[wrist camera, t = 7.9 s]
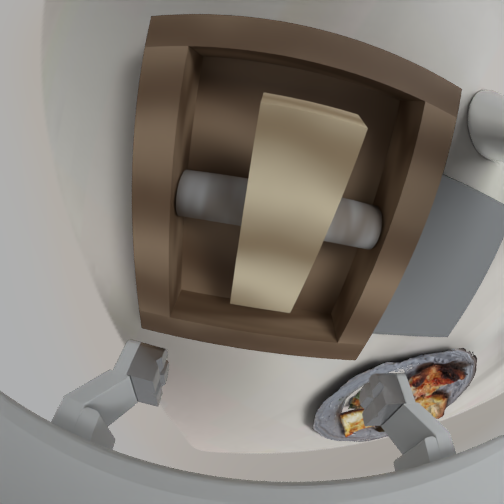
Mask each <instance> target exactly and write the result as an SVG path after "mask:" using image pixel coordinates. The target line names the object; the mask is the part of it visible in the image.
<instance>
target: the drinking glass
mask: <svg viewBox="0 0 504 504" xmlns="http://www.w3.org/2000/svg"><path fill="white" fill-rule="evenodd" d="M468 128H469V133H470V137H471V140H472V142H473V144H474V146H475V148H476V149H477V151H478V152H479V153H480V154H481V155H482V156H483V157H485V158H486V159H489V160H492V161H498V162H504V95H503V94H501V93H498V92H495V91H492V90H482V91H479V92H478V93H476V94H475V96H474V97H473V98H472V100H471V103H470V106H469V110H468Z"/></svg>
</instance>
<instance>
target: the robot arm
mask: <svg viewBox="0 0 504 504" xmlns="http://www.w3.org/2000/svg"><path fill="white" fill-rule="evenodd" d="M167 356H168V351H167V349H164V348H160V347H156V346H153V345H149V344H146V343H142V342H138V341H135V340H131V339H130V340H128V341H127V343H126V345H125V347H124V349H123V351H122V353H121V355H120V357H119V359H118V361H117V363H116V365H115V367H114V369H113V371H112V370H108V371H106V372H105V373H103V374H101V375H100V376H98V377H96V378H94V379H93V380H91V381H89V382H88V383H86V384H84V385H82V386H81V387H79V388H77V389H75V390H74V391H72V392H70V393H69V394H67V395H65V396H64V398H63V400H62V401H61V403H60V405H59V407H58V409H57V411H56V413H55V415H54V417H53V419H52V421H51V422H49V421H47V420H46V419H44V418H42V417H40V416H38V415H37V414H35V413H33V412H32V411H30V410H28V409H27V408H25V407H23V406H22V405H20V404H19V403H17V402H16V401H14V400H13V399H11V398H10V397H8V396H7V395H5V394H4V393H3V392H1V391H0V504H504V435H501V436H498V437H496V438H494V439H492V440H489V441H487V442H485V443H483V444H480V445H478V446H476V447H473V448H471V449H468V450H466V451H463V452H460V453H458V454H456V452H455V448H454V445H453V442H452V439H451V435H450V432H449V431H448V430H447V429H446V428H445V427H444V426H443V425H442V424H441V423H440V422H439V421H438V420H436V419H435V418H434V417H433V416H432V415H431V414H430V413H429V412H428V411H427V410H426V409H425V408H424V407H423V406H422V405H420V404H419V403H418V402H417V403H416V402H415V399H414V396H413V393H412V390H411V388H410V385H409V382H408V379H407V377H406V375H405V374H404V373H374V374H372V375H371V376H370V378H369V382H368V383H367V384H365V385H364V386H363V387H362V389H361V391H360V395H359V401H360V405H361V406H362V407H363V408H364V411H363V413H362V416H363V421H364V426H381V425H382V426H381V427H382V428H383V430H384V431H385V432H386V434H387V435H388V436H389V437H390V439H391V440H392V441H393V443H394V444H395V445H396V446H397V448H398V449H399V450H400V452H401V453H402V454H403V455H402V456H400V457H399V458H397V459H396V460H395V461H394V467H395V471H394V472H390V473H384V474H379V475H373V476H367V477H360V478H352V479H343V480H331V481H316V482H269V481H252V480H241V479H232V478H224V477H216V476H210V475H204V474H199V473H193V472H188V471H183V470H179V469H174V468H170V467H166V466H162V465H158V464H155V463H151V462H147V461H144V460H141V459H137V458H134V457H131V456H128V455H125V454H122V453H119V452H117V451H114V450H112V449H113V446H114V443H115V438H114V436H113V435H112V433H111V432H110V430H109V429H108V426H109V425H110V424H112V423H113V422H114V421H115V420H117V419H118V418H119V417H120V416H122V415H123V414H124V413H125V412H127V411H128V410H129V409H130V408H132V407H133V406H134V405H135V404H136V403H137V401H138V402H142V403H146V404H150V405H154V406H159V403H160V399H161V396H162V386H163V385H165V384H166V380H167V376H168V371H169V362H168V361H167V360H166V359H167Z"/></svg>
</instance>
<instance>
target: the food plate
mask: <svg viewBox="0 0 504 504" xmlns="http://www.w3.org/2000/svg"><path fill="white" fill-rule="evenodd" d="M452 350H453V351H445V352H439V353H433V354H427V355H423V354H421V355H419V356H417V357H415V358H410V359H408V360H404V361H403V362H400V363H397V362H396V363H395V364H394V363H393V362H386V363H383V364H381V365H379V366H376V367H375V368H372V369H369V370H368V371H365V372H364V373H360V374H359V375H356V376H355V377H353V378H352V379H350V380H349V381H348V382H347V383H346V384H344V385H343V386H342V387H340V389H339V391H338V392H335V393H334V394H333V395H332V396H330V397H329V398H327V400H325V401H324V402H323V404H322V405H321V406H320V408H319V409H318V410H317V413H316V415H315V417H314V424H313V429H314V430H315V431H317V432H318V433H319V434H320V435H321V436H323V437H325V438H328V439H331V440H337V441H354V442H361V441H358V440H364V441H369V440H367V439H370V440H375V439H379V438H383V437H386V436H388V435H387V434H386V432H385V431H384V430H383V428H382V427H381V426H382V425H381V426H364V421H363V416H362V413H363V411H364V408H363V407H362V406H361V405H360V401H359V395H360V391H361V390H360V391H359V393H358V394H357V395H356V396H353V397H352V398H351V399H350V403H349V404H350V407H349V408H348V409H350V408H352V409H354V410H350V411H348V412H343V413H341V412H342V409H343V406H344V403H345V400H346V398H347V397H348V396H349V395H350V394H352V393H353V392H354V391H356V390H357V389H359V388H360V387H362V386H363V385H365V384H366V383H368V382H369V378H370V376H371V375H372V374H374V373H389V372H391V371H394V370H395V372H398V371H399V370H398V369H397V368H399V369H404V371H405V373H404V374H405V375H406V377H407V379H408V382H409V385H410V388H411V390H412V393H413V396H414V399H415V402H416V403H417V402H418V403H419V404H420V405H422V406H423V407H424V408H425V409H426V410H427V411H428V412H429V413H430V414H431V415H432V416H433V417H434V418H436V419H437V418H438V419H439V418H440V417H442V416H443V415H444V410H445V409H446V407H447V406H449V405H450V404H451V403H453V402H454V401H455V400H456V399H457V398H458V397H459V396H460V395H461V394H462V392H463V391H464V390H466V388H467V387H468V386H469V384H470V383H471V381H472V379H473V378H474V375H475V372H476V363H477V358H476V356H475V355H474V354H473V356H472V354H471V352H470V351H469V352H466V349H464V348H459V349H452ZM472 353H473V352H472ZM418 363H419V364H418ZM390 364H392V365H390ZM408 364H409V365H411V366H409V365H408ZM407 366H408V367H407ZM402 367H403V368H402ZM411 367H413V368H412V369H409V368H411ZM406 368H408V369H406ZM407 370H409V371H407ZM400 372H401V371H400ZM402 372H403V371H402Z"/></svg>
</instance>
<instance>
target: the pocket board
mask: <svg viewBox="0 0 504 504" xmlns="http://www.w3.org/2000/svg"><path fill="white" fill-rule="evenodd" d="M461 91H462V89H461V88H459V87H458V86H456V85H454V84H453V83H451V82H449V81H447V80H446V79H444V78H442V77H440V76H438V75H437V74H435V73H433V72H431V71H429V70H427V69H425V68H423V67H421V66H419V65H417V64H415V63H413V62H411V61H409V60H406V59H404V58H402V57H400V56H397V55H395V54H393V53H390V52H388V51H385V50H383V49H380V48H377V47H375V46H372V45H369V44H367V43H364V42H361V41H358V40H355V39H352V38H348V37H345V36H342V35H338V34H335V33H331V32H328V31H324V30H320V29H316V28H312V27H307V26H303V25H298V24H293V23H287V22H282V21H276V20H269V19H262V18H254V17H244V16H232V15H213V14H180V15H161V16H151V20H150V25H149V29H148V34H147V39H146V44H145V49H144V55H143V61H142V67H141V74H140V81H139V88H138V96H137V105H136V116H135V127H134V142H133V163H132V226H133V247H134V262H135V275H136V285H137V295H138V304H139V312H140V319H141V326H142V328H143V329H147V330H152V331H156V332H160V333H164V334H169V335H173V336H178V337H182V338H187V339H192V340H197V341H202V342H207V343H213V344H218V345H224V346H230V347H236V348H242V349H248V350H255V351H262V352H270V353H278V354H286V355H295V356H305V357H316V358H328V359H342V360H356V359H357V357H358V356H359V354H360V353H361V351H362V349H363V348H364V346H365V345H366V343H367V341H368V340H369V338H370V336H371V335H372V333H373V331H374V329H375V328H376V326H377V324H378V323H379V321H380V319H381V317H382V315H383V314H384V312H385V310H386V308H387V306H388V304H389V302H390V301H391V299H392V297H393V295H394V293H395V291H396V289H397V287H398V285H399V283H400V281H401V279H402V277H403V275H404V272H405V270H406V268H407V266H408V264H409V262H410V259H411V257H412V255H413V253H414V250H415V248H416V246H417V243H418V241H419V239H420V236H421V234H422V231H423V229H424V226H425V224H426V221H427V218H428V216H429V213H430V210H431V208H432V205H433V202H434V199H435V196H436V193H437V190H438V187H439V184H440V181H441V178H442V174H443V171H444V168H445V164H446V161H447V157H448V153H449V149H450V146H451V142H452V137H453V133H454V129H455V124H456V119H457V114H458V109H459V104H460V98H461ZM263 93H270V94H275V95H281V96H286V97H291V98H296V99H300V100H305V101H309V102H314V103H318V104H322V105H326V106H329V107H333V108H337V109H341V110H344V111H347V112H351V113H354V114H357V115H359V117H360V118H361V119H362V121H363V122H364V124H365V125H366V126H367V128H368V129H367V132H366V135H365V138H364V140H363V143H362V146H361V149H360V151H359V154H358V157H357V159H356V162H355V165H354V167H353V170H352V173H351V175H350V178H349V180H348V183H347V186H346V188H345V191H344V193H343V196H342V198H341V201H340V203H339V205H338V208H337V210H336V213H335V215H334V218H333V220H332V222H331V225H330V227H329V229H328V232H327V234H326V236H325V239H324V241H323V243H322V246H321V248H320V250H319V252H318V255H317V257H316V259H315V261H314V263H313V266H312V268H311V270H310V272H309V274H308V277H307V279H306V281H305V283H304V285H303V287H302V289H301V292H300V294H299V296H298V298H297V300H296V302H295V304H294V306H293V308H292V310H291V312H290V313H286V312H280V311H273V310H266V309H260V308H253V307H247V306H241V305H235V304H230V300H231V293H232V286H233V279H234V272H235V265H236V258H237V251H238V244H239V237H240V230H241V224H242V217H243V210H244V204H245V197H246V191H247V184H248V178H249V171H250V165H251V159H252V152H253V146H254V140H255V134H256V127H257V121H258V115H259V109H260V103H261V100H262V96H263Z"/></svg>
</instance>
